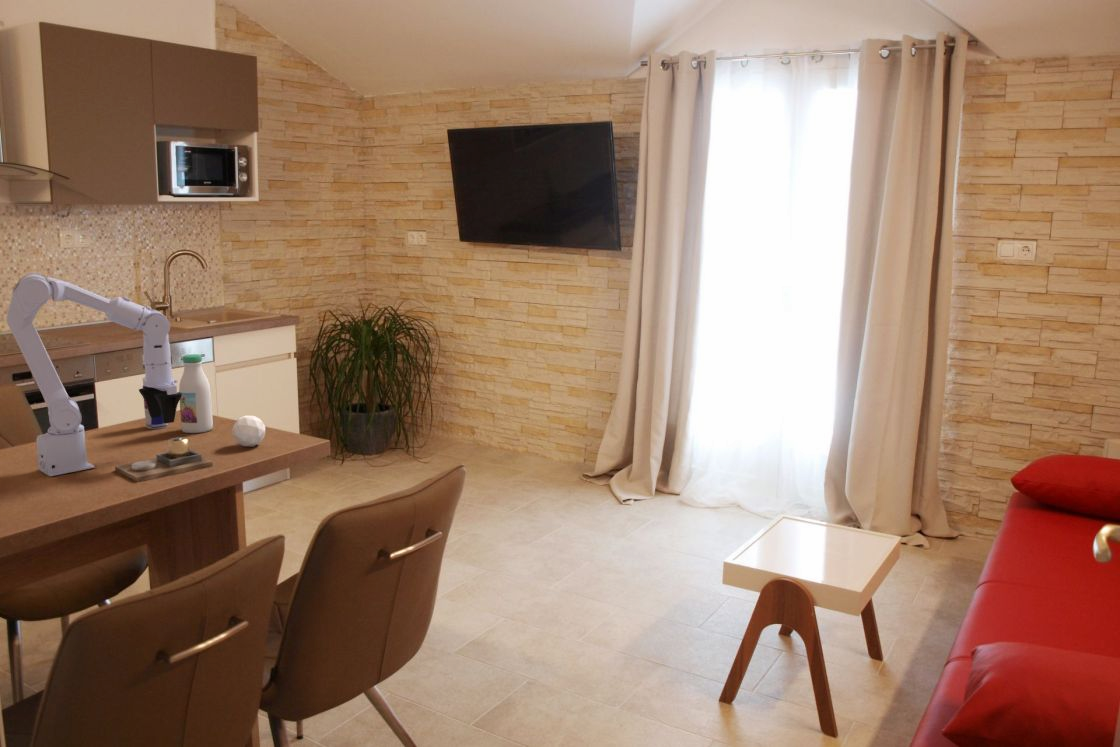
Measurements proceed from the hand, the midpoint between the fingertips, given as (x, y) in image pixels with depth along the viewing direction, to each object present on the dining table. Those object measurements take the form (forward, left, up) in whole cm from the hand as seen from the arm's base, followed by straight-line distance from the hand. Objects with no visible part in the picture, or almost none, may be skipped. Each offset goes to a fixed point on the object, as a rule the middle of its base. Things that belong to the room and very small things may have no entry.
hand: (162, 419), depth 219 cm
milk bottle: (+17, +19, -9) cm, 27 cm away
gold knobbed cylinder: (-1, -9, -8) cm, 12 cm away
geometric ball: (+19, -5, -9) cm, 22 cm away
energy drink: (+11, +30, -9) cm, 33 cm away
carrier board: (-4, -9, -9) cm, 14 cm away
